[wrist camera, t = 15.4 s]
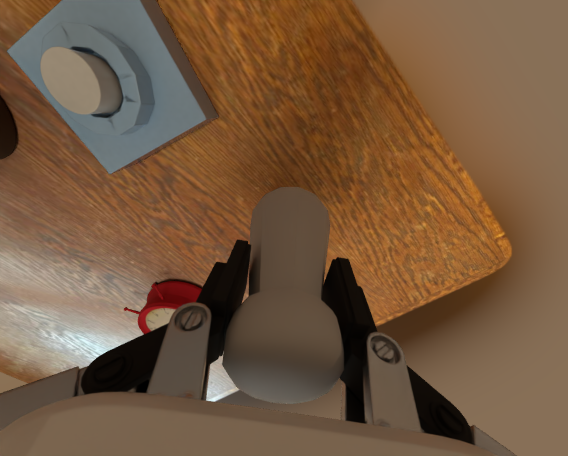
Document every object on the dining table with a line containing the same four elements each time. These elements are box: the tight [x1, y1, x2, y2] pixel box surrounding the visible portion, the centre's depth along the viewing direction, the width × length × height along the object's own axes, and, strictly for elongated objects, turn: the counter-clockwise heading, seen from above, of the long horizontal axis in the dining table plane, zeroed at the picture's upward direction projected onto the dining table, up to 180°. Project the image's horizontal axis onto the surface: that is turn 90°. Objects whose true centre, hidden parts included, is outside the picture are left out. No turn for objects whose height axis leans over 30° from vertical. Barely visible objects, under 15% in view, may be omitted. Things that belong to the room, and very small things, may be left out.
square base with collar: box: [7, 0, 218, 174], centre depth 17 cm, size 11×10×5 cm
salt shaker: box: [222, 187, 344, 404], centre depth 13 cm, size 6×6×13 cm
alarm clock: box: [124, 281, 202, 334], centre depth 32 cm, size 10×6×15 cm
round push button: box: [40, 46, 122, 115], centre depth 15 cm, size 4×4×2 cm
